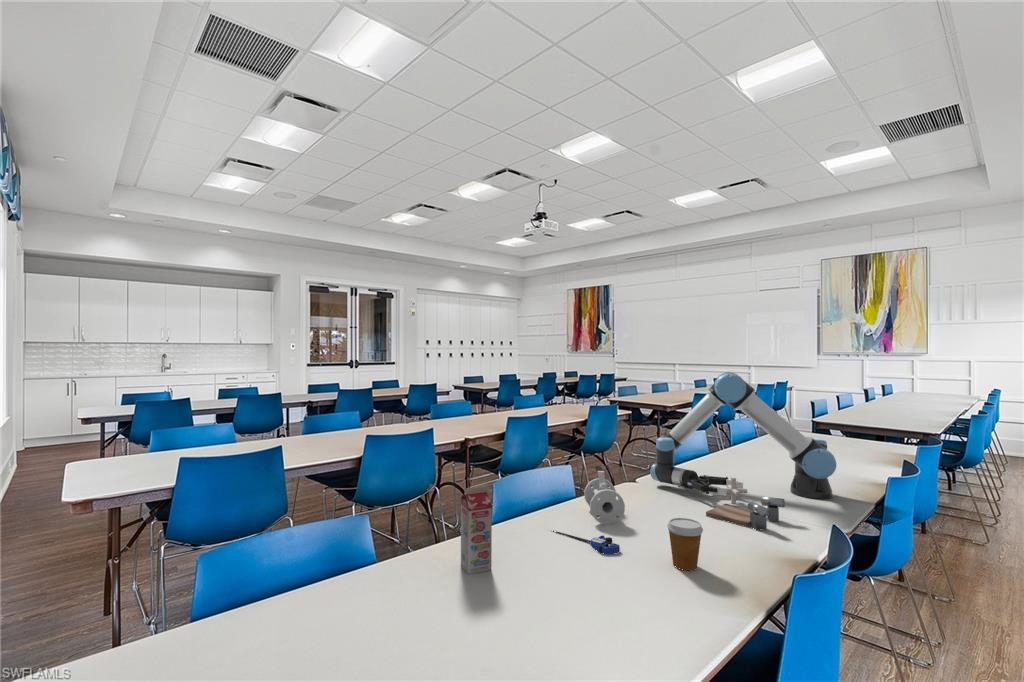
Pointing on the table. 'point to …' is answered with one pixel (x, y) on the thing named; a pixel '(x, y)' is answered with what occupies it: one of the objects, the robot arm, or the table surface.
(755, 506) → the dark grey piece
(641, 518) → the table surface
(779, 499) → the grey capsule on block
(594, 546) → the bar clamp
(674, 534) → the disposable coffee cup
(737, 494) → the pipe connector
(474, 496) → the juice carton
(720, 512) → the mounting pad
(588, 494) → the valve
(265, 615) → the table surface
